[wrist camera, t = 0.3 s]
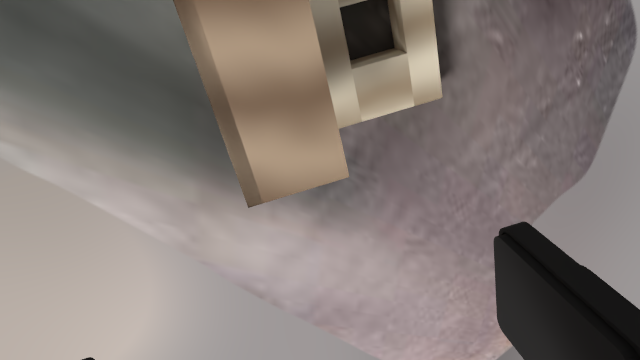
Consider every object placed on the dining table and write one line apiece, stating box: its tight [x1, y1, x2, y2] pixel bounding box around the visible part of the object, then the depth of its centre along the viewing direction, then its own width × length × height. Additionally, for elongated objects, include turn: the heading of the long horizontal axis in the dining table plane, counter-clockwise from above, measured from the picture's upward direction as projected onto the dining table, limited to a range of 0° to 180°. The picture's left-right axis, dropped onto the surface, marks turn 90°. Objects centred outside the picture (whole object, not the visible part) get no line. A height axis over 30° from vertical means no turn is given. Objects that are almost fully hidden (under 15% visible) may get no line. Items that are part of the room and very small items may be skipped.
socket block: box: [173, 0, 442, 208], centre depth 32 cm, size 14×18×12 cm
